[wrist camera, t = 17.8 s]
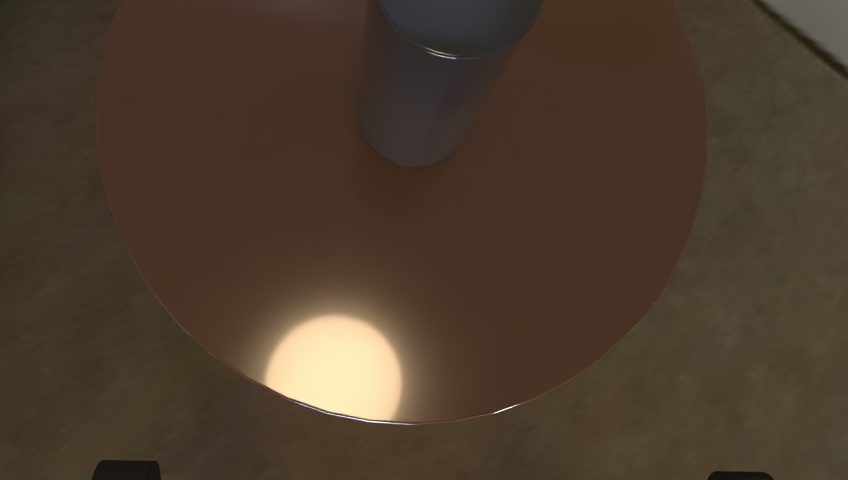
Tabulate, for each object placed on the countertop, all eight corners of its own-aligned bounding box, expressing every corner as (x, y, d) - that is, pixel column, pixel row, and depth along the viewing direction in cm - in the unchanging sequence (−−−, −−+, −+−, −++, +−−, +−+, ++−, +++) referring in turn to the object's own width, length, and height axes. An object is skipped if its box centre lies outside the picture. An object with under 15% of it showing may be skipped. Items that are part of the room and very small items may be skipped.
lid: (759, -2, 21) (1003, -209, 13) (569, 516, 18) (736, 625, 11) (264, -229, 20) (223, -582, 13) (-2, 274, 18) (-249, 209, 10)
